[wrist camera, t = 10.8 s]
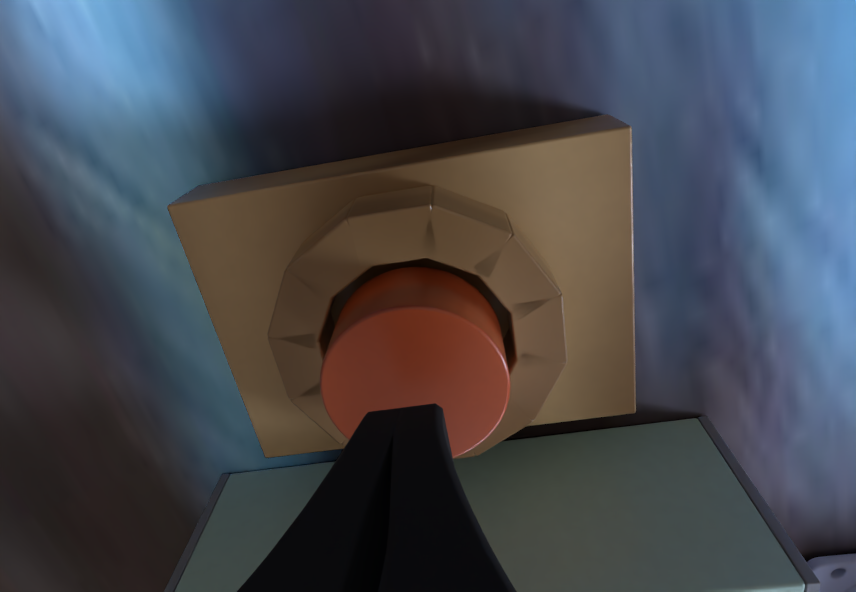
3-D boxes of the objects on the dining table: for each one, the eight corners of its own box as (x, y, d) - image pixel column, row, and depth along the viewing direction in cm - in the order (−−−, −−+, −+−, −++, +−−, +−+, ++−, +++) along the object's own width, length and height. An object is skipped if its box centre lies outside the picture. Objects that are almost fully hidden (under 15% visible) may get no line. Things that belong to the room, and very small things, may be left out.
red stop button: (490, 252, 12) (499, 292, 10) (510, 397, 14) (520, 454, 12) (317, 279, 13) (296, 322, 11) (356, 417, 14) (344, 474, 13)
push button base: (609, 113, 14) (658, 138, 11) (617, 376, 17) (656, 453, 14) (196, 185, 15) (130, 227, 12) (281, 419, 18) (248, 500, 15)
